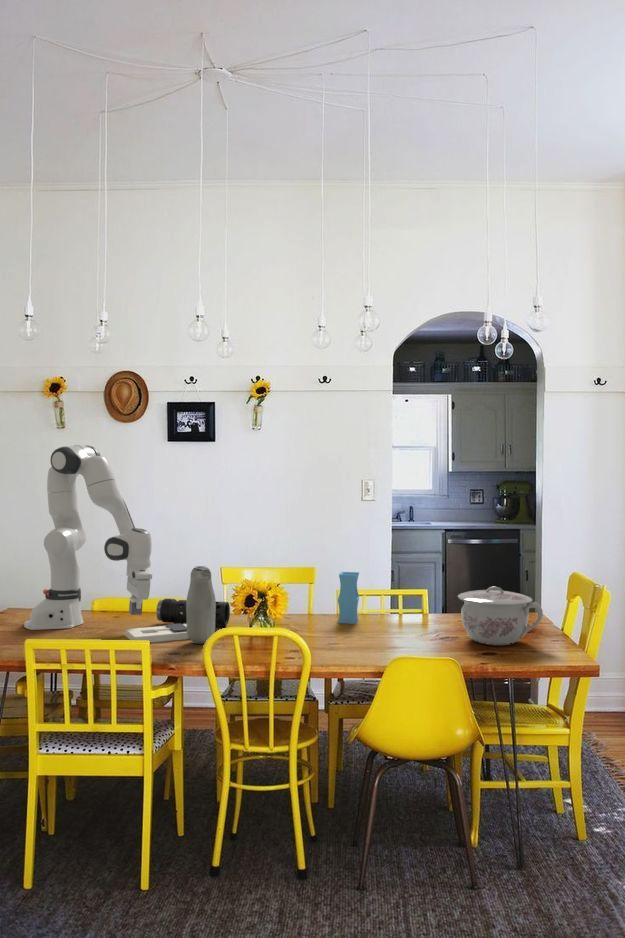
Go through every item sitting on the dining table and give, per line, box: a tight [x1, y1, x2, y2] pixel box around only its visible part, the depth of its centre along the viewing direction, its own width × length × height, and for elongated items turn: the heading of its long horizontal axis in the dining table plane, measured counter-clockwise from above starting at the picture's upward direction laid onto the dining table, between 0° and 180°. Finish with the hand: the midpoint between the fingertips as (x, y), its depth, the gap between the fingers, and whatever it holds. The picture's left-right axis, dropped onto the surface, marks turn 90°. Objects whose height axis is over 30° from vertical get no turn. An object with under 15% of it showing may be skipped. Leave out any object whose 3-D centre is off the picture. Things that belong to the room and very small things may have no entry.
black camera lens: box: [155, 598, 231, 628], centre depth 325 cm, size 10×28×10 cm, turn 81°
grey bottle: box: [186, 565, 217, 645], centre depth 295 cm, size 10×10×28 cm
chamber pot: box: [457, 586, 544, 647], centre depth 303 cm, size 28×28×21 cm
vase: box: [337, 571, 360, 625], centre depth 336 cm, size 8×8×20 cm
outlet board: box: [125, 623, 190, 644], centre depth 304 cm, size 24×14×3 cm, turn 117°
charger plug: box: [128, 596, 144, 616], centre depth 311 cm, size 4×4×6 cm
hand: (136, 607), depth 311 cm, fingers closed on charger plug, 4 cm apart
